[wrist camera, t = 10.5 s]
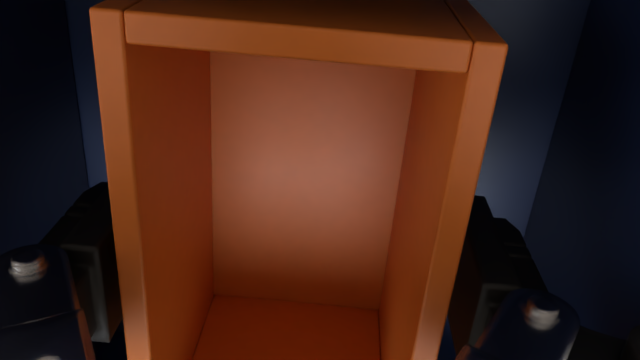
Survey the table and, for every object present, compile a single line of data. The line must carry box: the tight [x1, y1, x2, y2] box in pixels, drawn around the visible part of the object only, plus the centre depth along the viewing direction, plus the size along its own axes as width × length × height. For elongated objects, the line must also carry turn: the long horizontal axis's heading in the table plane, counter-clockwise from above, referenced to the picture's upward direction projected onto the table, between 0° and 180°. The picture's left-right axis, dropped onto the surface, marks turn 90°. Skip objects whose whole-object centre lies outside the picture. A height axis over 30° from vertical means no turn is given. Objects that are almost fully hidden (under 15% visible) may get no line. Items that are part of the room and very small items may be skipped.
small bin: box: [89, 0, 508, 360], centre depth 13 cm, size 6×10×6 cm, turn 176°
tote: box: [0, 0, 640, 360], centre depth 13 cm, size 14×14×7 cm
